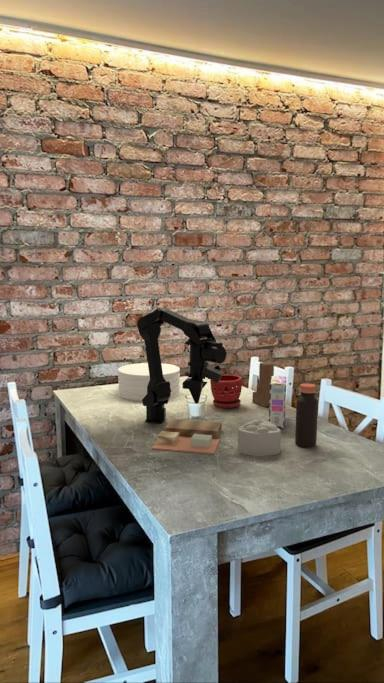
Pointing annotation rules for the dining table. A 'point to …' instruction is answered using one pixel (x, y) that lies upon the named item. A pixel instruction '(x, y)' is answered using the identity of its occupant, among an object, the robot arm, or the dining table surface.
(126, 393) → the plate stack
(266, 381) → the wooden block
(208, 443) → the sage tile
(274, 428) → the lumpy-topped squat cylinder
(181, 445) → the terracotta mat
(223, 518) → the dining table surface
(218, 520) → the dining table surface
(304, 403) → the bottle
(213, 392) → the plant pot
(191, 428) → the walnut board
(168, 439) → the maple tile
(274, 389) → the candy box
